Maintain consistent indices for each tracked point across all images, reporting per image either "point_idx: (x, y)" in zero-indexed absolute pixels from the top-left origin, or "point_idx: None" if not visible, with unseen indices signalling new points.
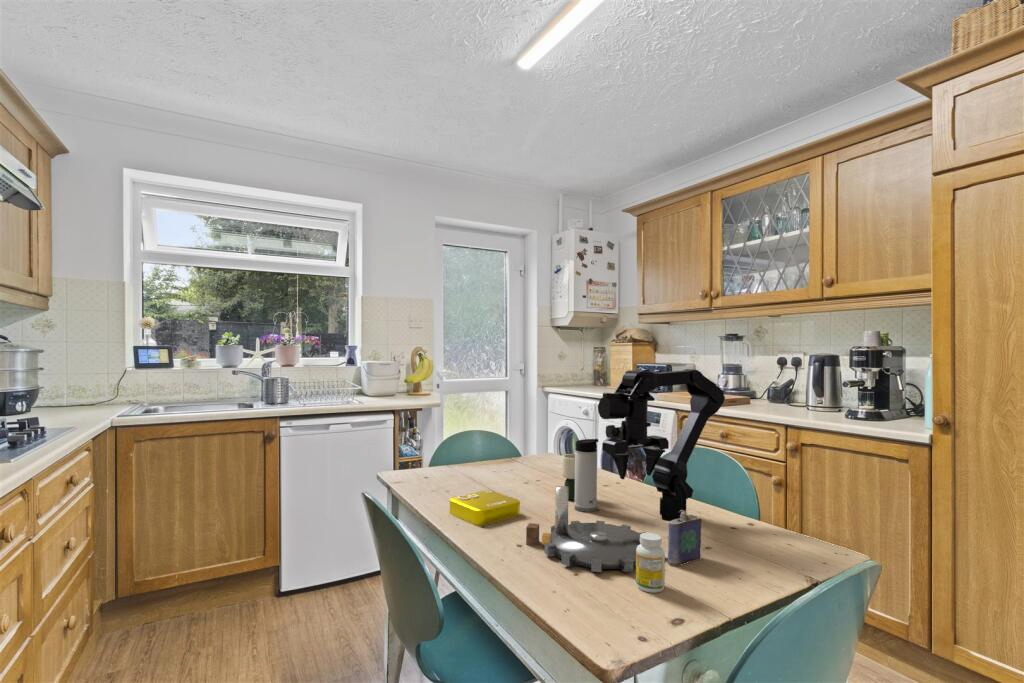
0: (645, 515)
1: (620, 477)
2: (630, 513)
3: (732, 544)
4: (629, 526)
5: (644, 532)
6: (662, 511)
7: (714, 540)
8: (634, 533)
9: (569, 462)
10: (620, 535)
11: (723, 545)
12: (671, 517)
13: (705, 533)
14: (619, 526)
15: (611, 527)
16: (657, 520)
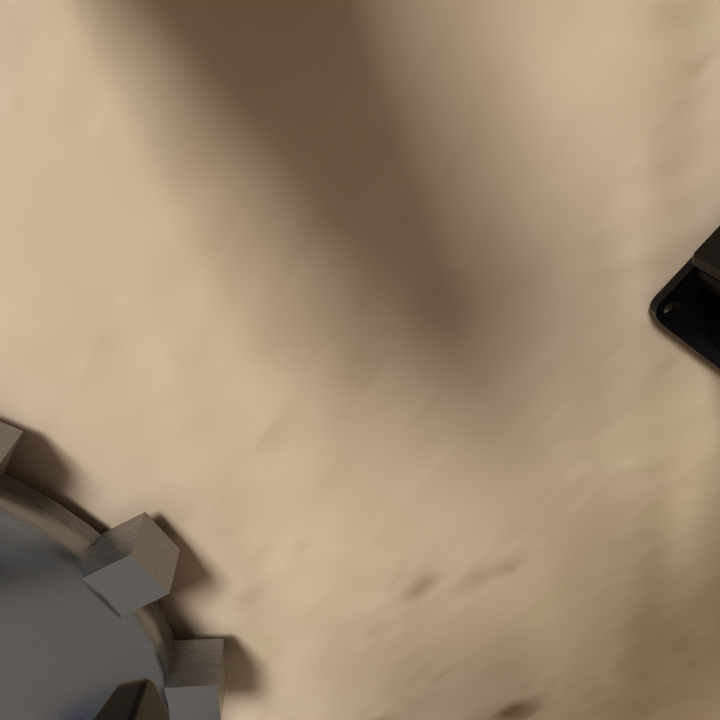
0: (603, 157)
1: (112, 702)
2: (509, 49)
3: (663, 703)
4: (158, 595)
5: (207, 687)
6: (716, 287)
7: (630, 656)
8: None
9: None
10: (20, 700)
11: (611, 705)
12: (715, 344)
13: (681, 577)
14: (80, 582)
15: (6, 587)
16: (598, 307)
